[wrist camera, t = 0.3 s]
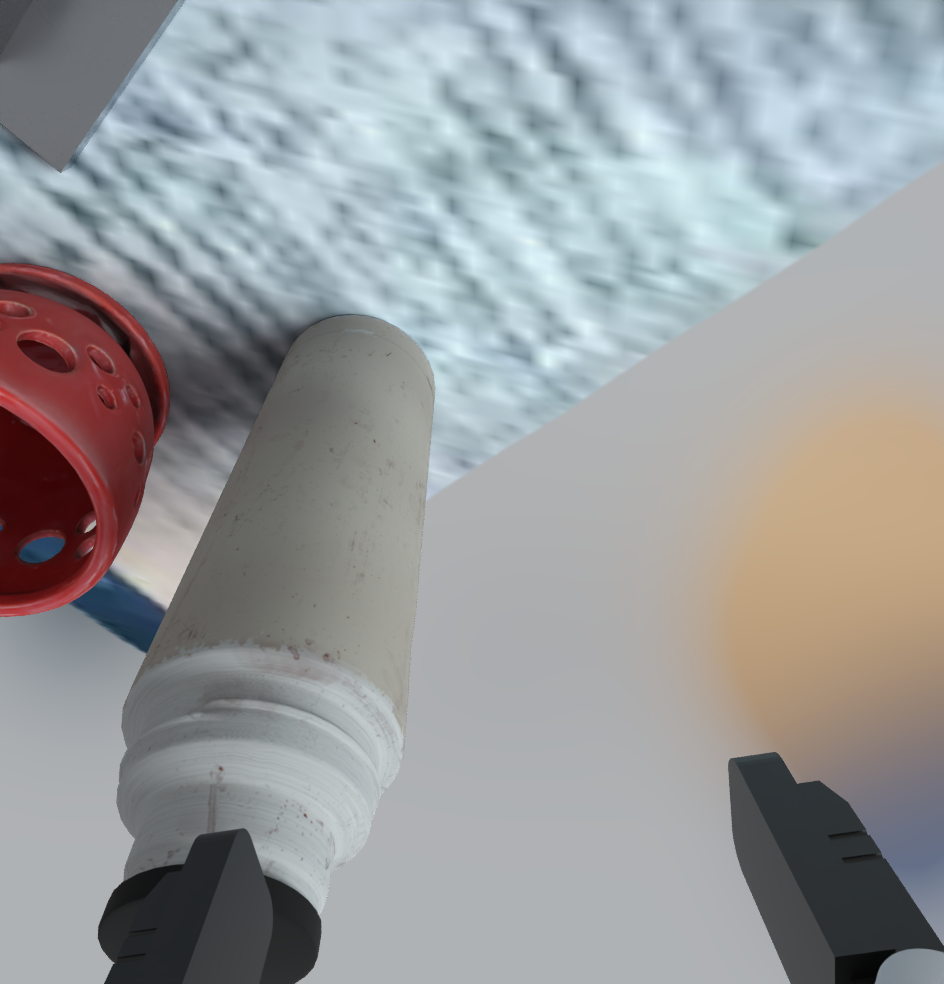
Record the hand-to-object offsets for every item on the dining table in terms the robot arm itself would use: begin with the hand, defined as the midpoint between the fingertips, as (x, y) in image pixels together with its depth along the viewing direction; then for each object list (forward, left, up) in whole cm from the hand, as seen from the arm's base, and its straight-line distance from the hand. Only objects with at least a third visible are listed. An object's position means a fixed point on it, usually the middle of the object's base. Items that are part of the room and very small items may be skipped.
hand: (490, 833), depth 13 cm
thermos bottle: (0, -9, -29) cm, 30 cm away
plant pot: (-11, -19, -29) cm, 36 cm away
